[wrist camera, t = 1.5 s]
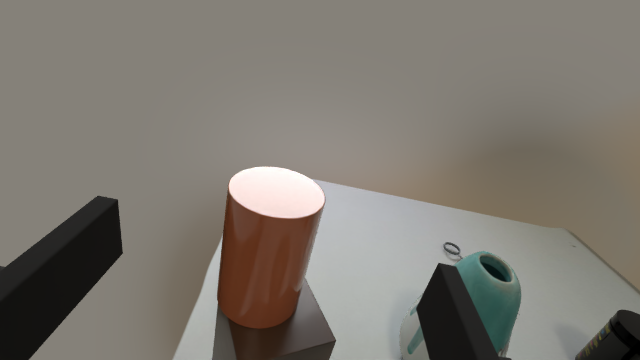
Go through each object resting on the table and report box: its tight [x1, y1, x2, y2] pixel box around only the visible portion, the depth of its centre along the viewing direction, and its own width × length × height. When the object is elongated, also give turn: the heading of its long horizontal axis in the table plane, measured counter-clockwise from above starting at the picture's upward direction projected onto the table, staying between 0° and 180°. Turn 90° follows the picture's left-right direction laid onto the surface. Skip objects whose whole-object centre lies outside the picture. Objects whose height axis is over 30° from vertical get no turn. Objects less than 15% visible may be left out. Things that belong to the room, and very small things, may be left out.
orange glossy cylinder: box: [217, 167, 325, 329], centre depth 27 cm, size 7×7×11 cm
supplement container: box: [575, 310, 640, 360], centre depth 44 cm, size 7×7×10 cm
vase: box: [399, 251, 521, 360], centre depth 38 cm, size 12×12×18 cm
